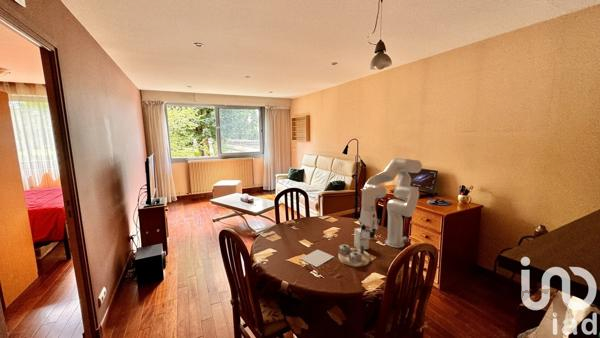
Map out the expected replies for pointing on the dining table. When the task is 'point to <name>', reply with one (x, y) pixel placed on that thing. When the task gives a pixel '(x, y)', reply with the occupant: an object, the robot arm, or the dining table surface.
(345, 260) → the carrier
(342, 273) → the dining table surface
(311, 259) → the paper stack
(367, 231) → the planet gear
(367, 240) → the supplement box
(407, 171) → the robot arm
